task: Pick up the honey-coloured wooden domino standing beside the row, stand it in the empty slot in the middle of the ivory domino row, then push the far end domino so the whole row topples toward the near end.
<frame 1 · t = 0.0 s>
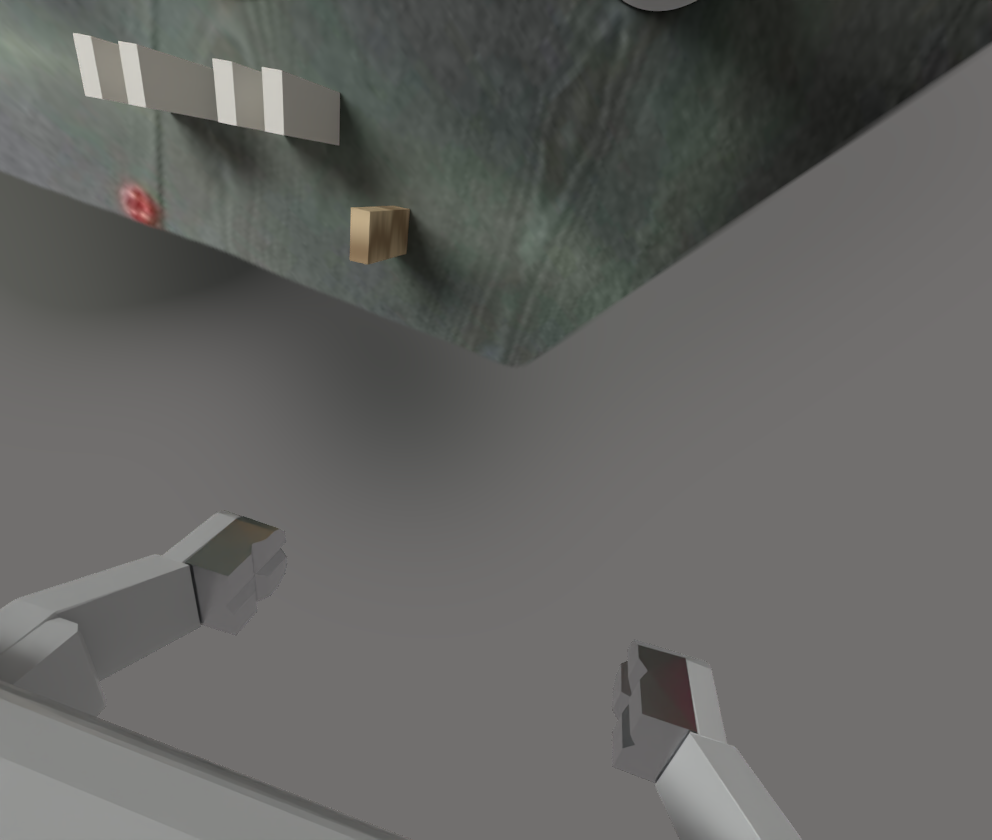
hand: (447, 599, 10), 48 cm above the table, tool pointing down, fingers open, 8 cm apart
domino 1: (173, 87, 54), on the table
domino 4: (290, 110, 52), on the table
domino 2: (211, 95, 53), on the table
domino 5: (331, 118, 51), on the table
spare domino: (400, 230, 55), on the table
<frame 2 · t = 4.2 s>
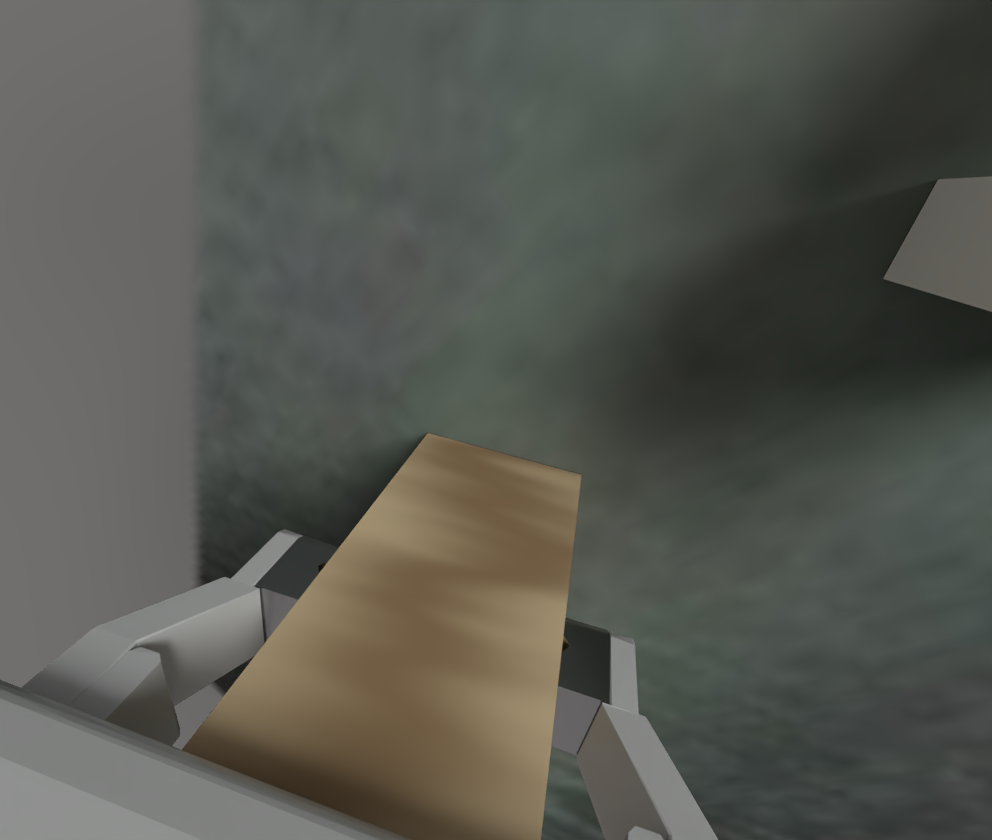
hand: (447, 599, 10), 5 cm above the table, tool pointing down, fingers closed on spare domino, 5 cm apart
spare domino: (497, 479, 15), on the table, touching gripper
when the fingers open (6 cm above the table, at t = 11.2 s): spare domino stays where it is, on the table.
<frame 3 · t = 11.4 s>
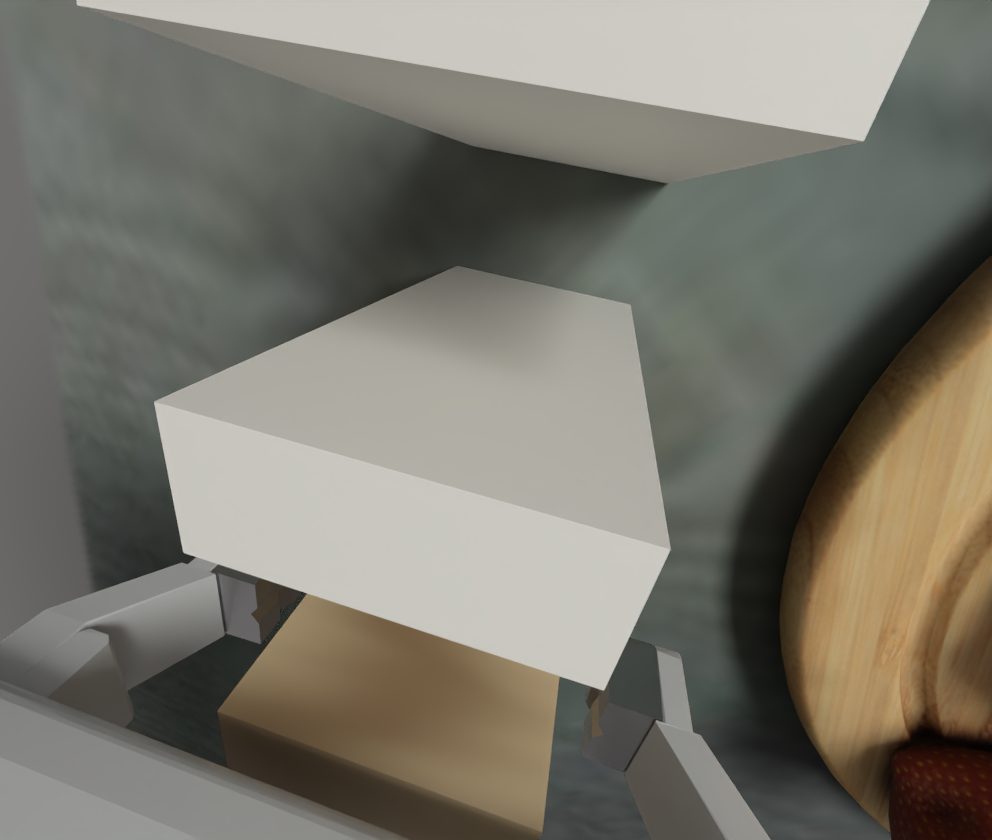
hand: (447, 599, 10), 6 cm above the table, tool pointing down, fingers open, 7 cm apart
domino 1: (578, 117, 11), on the table
domino 2: (534, 319, 13), on the table
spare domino: (503, 466, 16), on the table
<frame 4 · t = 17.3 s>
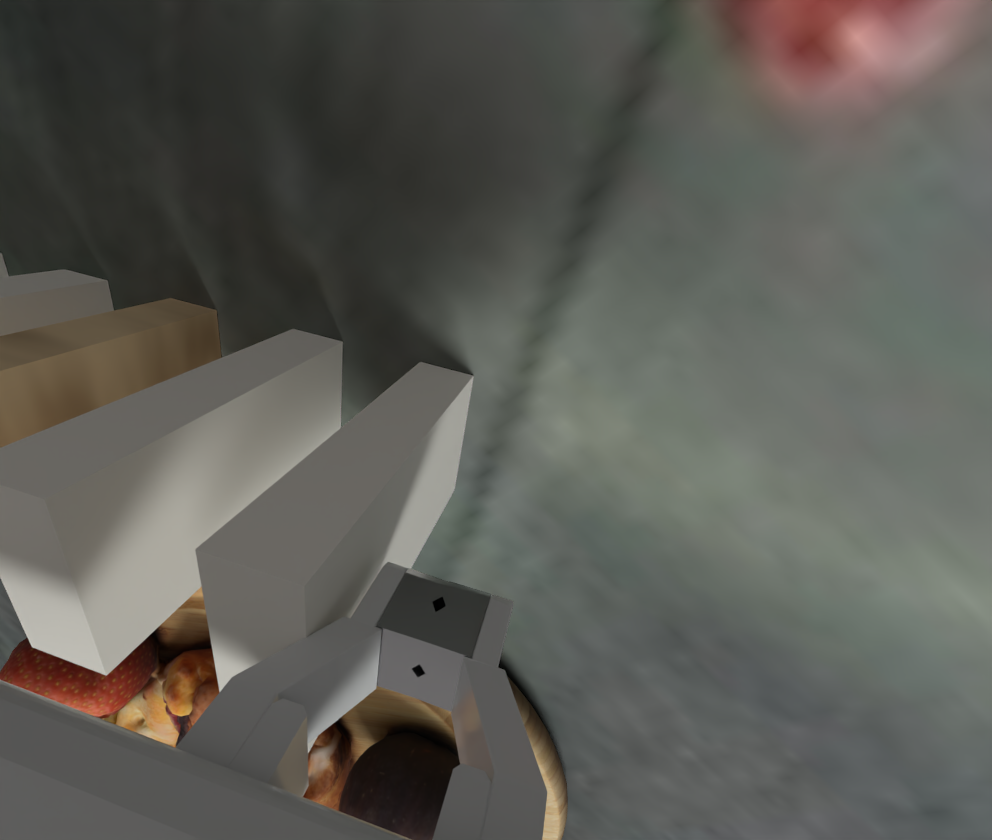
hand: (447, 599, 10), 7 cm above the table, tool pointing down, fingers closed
domino 1: (438, 429, 17), on the table, touching gripper
domino 4: (99, 335, 19), on the table
domino 2: (317, 396, 18), on the table
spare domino: (201, 364, 19), on the table
wooden plate with food: (318, 718, 30), on the table
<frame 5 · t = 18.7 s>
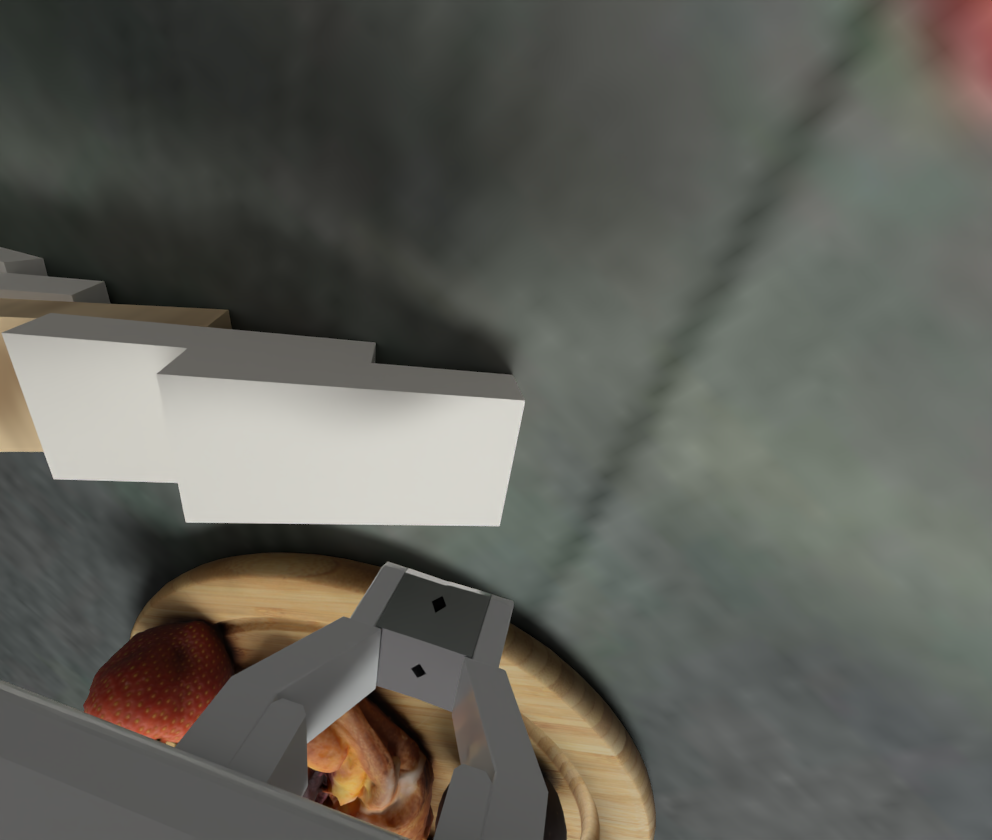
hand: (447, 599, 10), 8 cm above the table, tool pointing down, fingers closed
domino 1: (506, 451, 16), point 1 cm above the table, tilted 68°, touching domino 2
domino 4: (107, 351, 18), point 1 cm above the table, tilted 68°, touching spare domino
domino 2: (371, 416, 17), point 1 cm above the table, tilted 68°, touching domino 1
domino 5: (50, 321, 19), on the table, tilted 90°
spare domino: (230, 381, 18), point 1 cm above the table, tilted 68°, touching domino 4
wooden plate with food: (385, 736, 29), on the table
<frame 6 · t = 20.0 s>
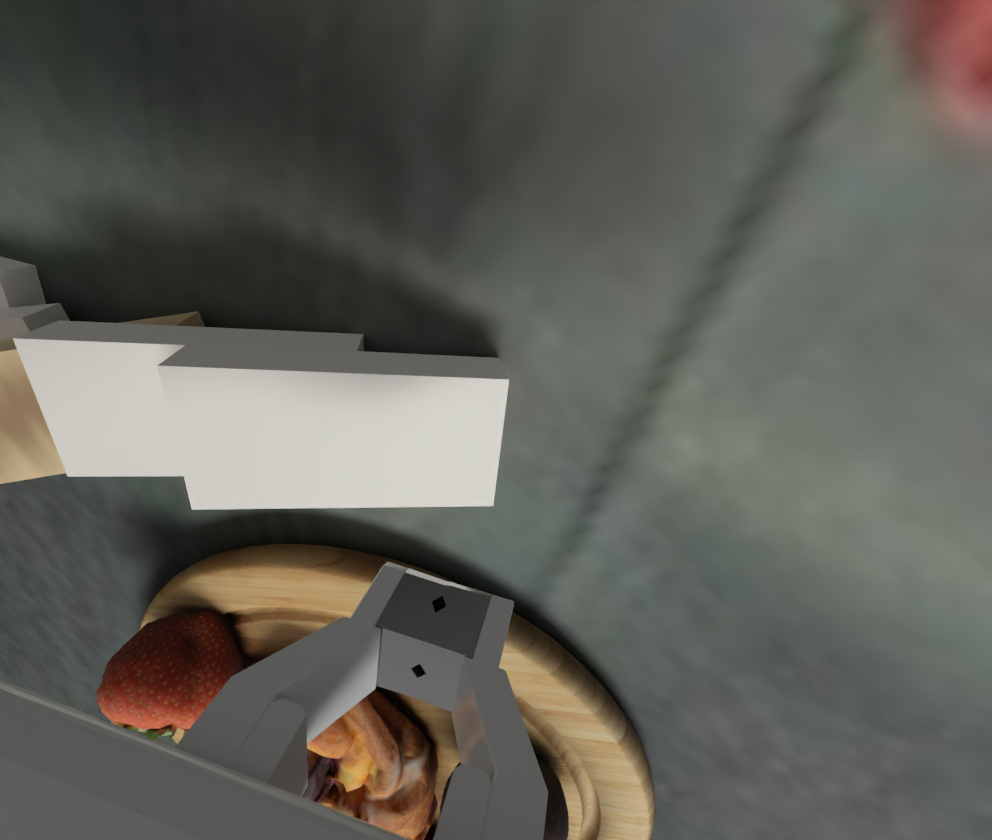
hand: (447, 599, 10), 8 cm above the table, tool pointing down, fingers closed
domino 1: (496, 433, 17), point 1 cm above the table, tilted 68°, touching domino 2
domino 4: (75, 368, 19), point 1 cm above the table, tilted 72°, touching domino 5, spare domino
domino 2: (362, 405, 18), point 1 cm above the table, tilted 69°, touching domino 1, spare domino
domino 5: (42, 325, 20), on the table, tilted 90°, touching domino 4
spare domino: (214, 379, 18), point 1 cm above the table, tilted 70°, touching domino 2, domino 4
wooden plate with food: (389, 727, 29), on the table
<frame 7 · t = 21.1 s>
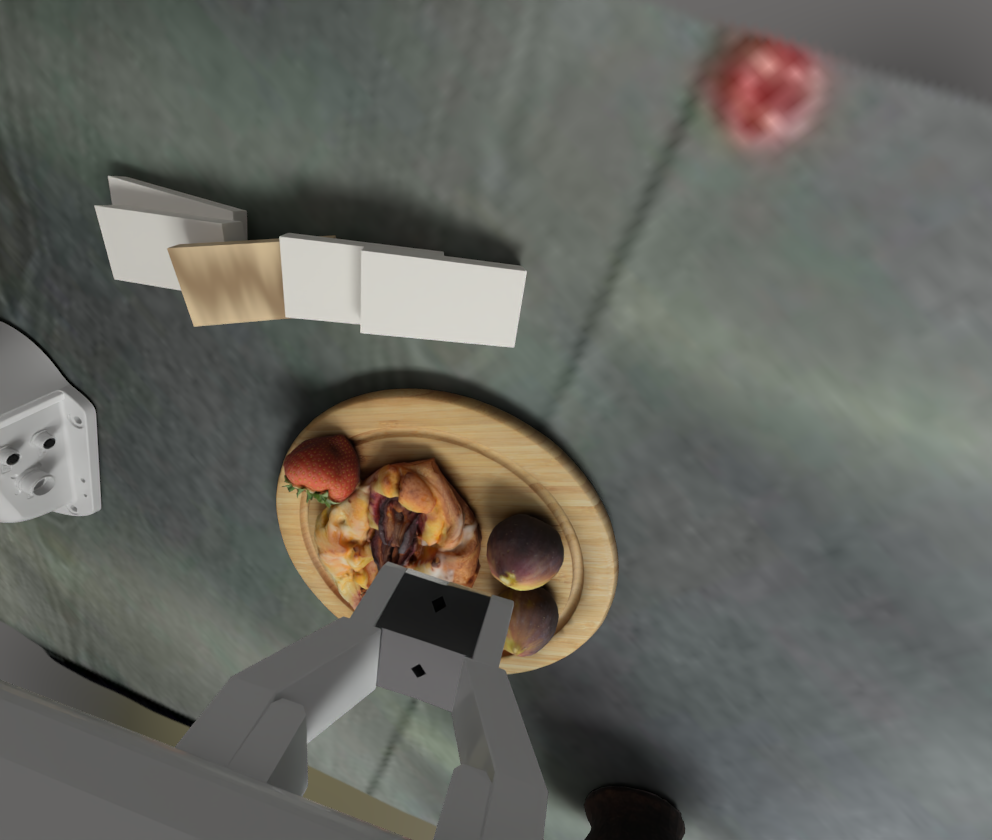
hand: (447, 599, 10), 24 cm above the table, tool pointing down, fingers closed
domino 1: (517, 306, 31), point 1 cm above the table, tilted 69°, touching domino 2
domino 4: (237, 260, 33), point 2 cm above the table, tilted 90°, touching domino 5
domino 2: (441, 292, 32), point 1 cm above the table, tilted 70°, touching domino 1
domino 5: (244, 246, 34), on the table, tilted 90°, touching domino 4
jug: (626, 803, 54), on the table
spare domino: (341, 274, 33), point 1 cm above the table, tilted 64°
wooden plate with food: (443, 540, 44), on the table
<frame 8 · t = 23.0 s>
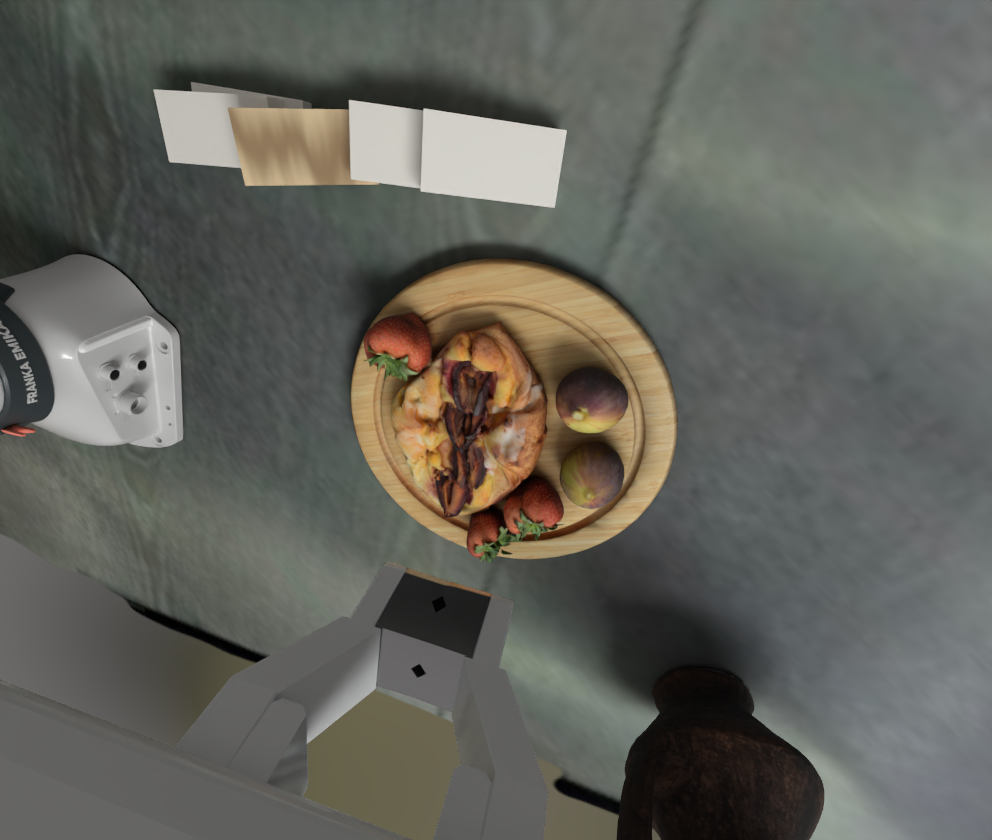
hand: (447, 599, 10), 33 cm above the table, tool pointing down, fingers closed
domino 1: (556, 170, 35), point 1 cm above the table, tilted 69°
domino 4: (279, 135, 37), point 2 cm above the table, tilted 90°, touching domino 5, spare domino
domino 2: (486, 160, 35), point 1 cm above the table, tilted 75°, touching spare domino
domino 5: (310, 138, 38), on the table, tilted 90°, touching domino 4
jug: (693, 688, 56), on the table
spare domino: (375, 149, 37), point 1 cm above the table, tilted 66°, touching domino 2, domino 4
wooden plate with food: (506, 422, 47), on the table
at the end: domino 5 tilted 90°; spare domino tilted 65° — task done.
